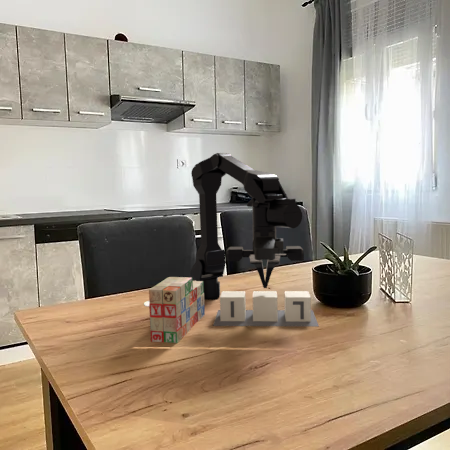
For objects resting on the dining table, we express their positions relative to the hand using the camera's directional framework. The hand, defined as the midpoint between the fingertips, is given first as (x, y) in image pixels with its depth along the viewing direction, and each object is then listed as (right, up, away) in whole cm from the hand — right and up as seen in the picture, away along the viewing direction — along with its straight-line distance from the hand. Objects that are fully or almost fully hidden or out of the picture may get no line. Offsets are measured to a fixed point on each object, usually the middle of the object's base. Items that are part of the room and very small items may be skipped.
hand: (265, 287), depth 112 cm
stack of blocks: (-21, -9, -5) cm, 23 cm away
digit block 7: (+8, -8, 0) cm, 11 cm away
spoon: (-29, -7, +23) cm, 38 cm away
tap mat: (0, -8, +1) cm, 8 cm away
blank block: (0, -8, +1) cm, 8 cm away
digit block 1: (-8, -8, +2) cm, 11 cm away
